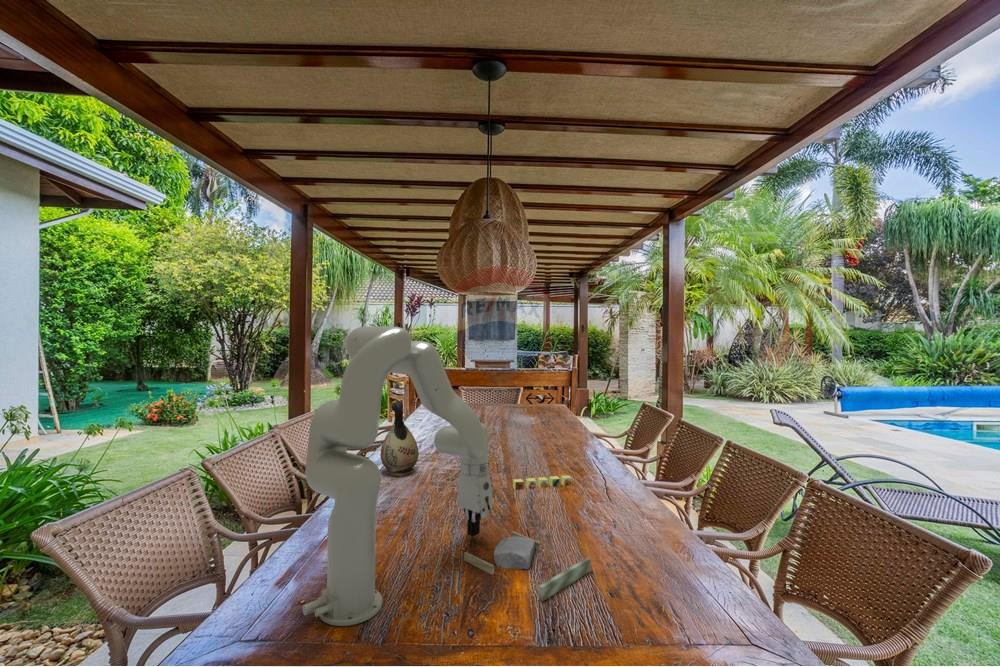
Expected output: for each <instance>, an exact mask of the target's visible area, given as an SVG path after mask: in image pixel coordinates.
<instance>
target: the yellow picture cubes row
mask: <svg viewBox="0 0 1000 667" xmlns="http://www.w3.org/2000/svg"><path fill="white" fill-rule="evenodd" d="M561 485H562V486H564V487H566V486H573V477H571V476H570V475H569V474H568V475H560V477H559V476H556V475H555V476H553V475H552V476H549V477H548V478H547V477H546V476H542V477H537V480H536V478H535V477H529V478H525V482H524V480H523V479H522V478H516V479H512V487H513V489H514V490H515V491H520V490H524V488H525V487H526V488H527V489H528V490H531V489H537V486H538V487H539V488H540V489H543V488H544V489H545V488H549V486H551V488H555V487H561Z"/></svg>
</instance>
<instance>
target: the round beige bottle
mask: <svg viewBox="0 0 1000 667" xmlns="http://www.w3.org/2000/svg"><path fill="white" fill-rule="evenodd" d="M403 408H404V404H403V402H400V401H396V402H394V403H392V405H391V410H392V412H393V411H394V420H393V424H392V426H391V427H390V429H389V430H388V432H387V434H386V435H385V437H384V439H383V441H382V444H381V448H380V455H379V456H380V461H381V464H382V465H383V466H384V467H385V469H386V470H387V471H388V473H389V475H390V476H394V477H395V476H396V477H402V476H406V475H409V474H412V472H413V468H414V467H415V466H416V464H417V462H418V460H419V453H420V452H419V446H418V443H417V440H416V439H415V436H414V435H413V434H412V432H411V430H409V427H408V426H407V425H406V424H405V421H404V412H403V411H404V410H403Z"/></svg>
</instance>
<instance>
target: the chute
mask: <svg viewBox="0 0 1000 667" xmlns="http://www.w3.org/2000/svg"><path fill="white" fill-rule="evenodd" d="M514 536H515V537H523V538H527V539H531V540H533V538H531V537H528V536H526V535H523V534H521V533H519V532H517V531H511V537H514ZM534 540H535V550H536V551H539V552H540V551H541V550H542V542H540V541H539V540H536V539H534ZM463 554H464V556H463V561H464V562H466V563H468V564H470V565H472V566H474V567H476V568H478V569H479V570H481V571H483V572H485V573H487V574H489V575H490V576H493V575H494V574H495V565H493V564H492V563H489V562H488V561H486V560H484V559H481V557H478V556H475V555H474V554H473V553H470V552H467V551H465V552H463ZM590 572H591V558H590V557H585V558H583V559H582V560H580V561H579V562H577V563H575V564H574V565H572V566H570V567H568V568H566V569H564V570H563V571H562V572H560V573H558V574H557V575H555V576H553V577H551V578H550V579H548V580H547V581H544V583H541V584H540V585H539V586H538V601H541V602H544V601H546V600H547V599H549V598H551V597H552V596H554V595H556V594H557V593H559V592H560V591H562V590H563V589H565V588H566V587H568V586H569V585H571V584H572V583H574V582H576V581H578V580H579V579H581V577H584V576H586V574H589V573H590Z"/></svg>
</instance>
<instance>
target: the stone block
mask: <svg viewBox="0 0 1000 667" xmlns="http://www.w3.org/2000/svg"><path fill="white" fill-rule="evenodd" d="M531 539H533V538H531ZM531 539H527V538H523V537H515V536H514V537H512V536H511V537H506V538H503V539H501V540H499V541H500V542H498V544H497V545H496V546H495V549H494V551H493V560H494V564H495V565H496V567H497V568H502V569H511V570H512V569H515V570H525V571H526V570H528V571H529V569H530V568H531V563H532V560H533V557H534V553H535V550H536V549H535V540H536V539H533V540H531Z"/></svg>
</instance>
